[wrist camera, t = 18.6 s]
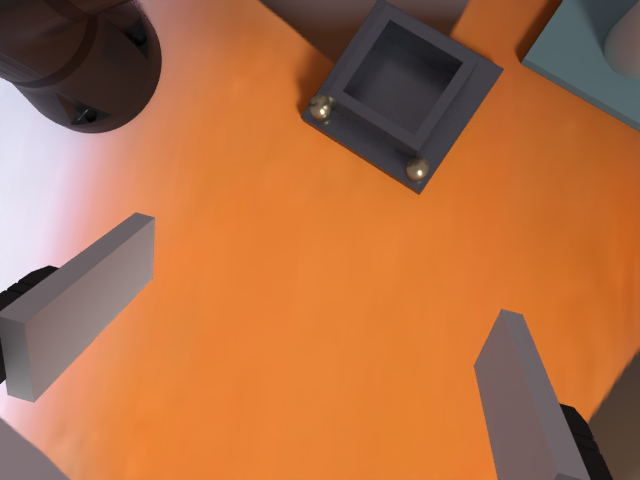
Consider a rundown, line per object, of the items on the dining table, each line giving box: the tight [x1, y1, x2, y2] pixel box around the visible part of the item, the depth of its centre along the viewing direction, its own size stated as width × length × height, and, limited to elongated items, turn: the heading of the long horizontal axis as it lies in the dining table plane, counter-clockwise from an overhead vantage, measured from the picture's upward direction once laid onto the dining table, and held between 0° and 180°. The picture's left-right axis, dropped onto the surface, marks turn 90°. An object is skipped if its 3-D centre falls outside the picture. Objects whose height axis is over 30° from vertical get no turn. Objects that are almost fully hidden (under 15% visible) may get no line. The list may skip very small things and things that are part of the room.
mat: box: [521, 0, 640, 132], centre depth 42 cm, size 16×12×1 cm
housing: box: [301, 0, 504, 195], centre depth 43 cm, size 14×14×6 cm
